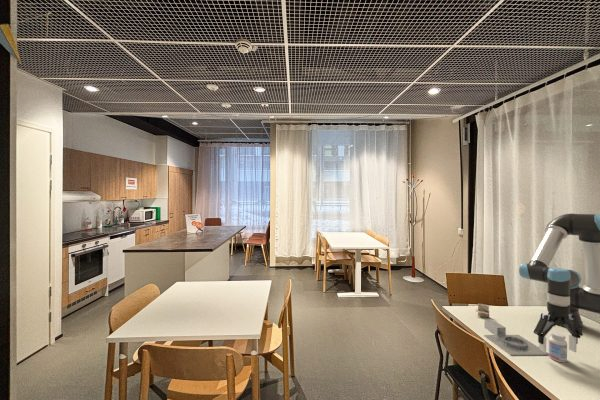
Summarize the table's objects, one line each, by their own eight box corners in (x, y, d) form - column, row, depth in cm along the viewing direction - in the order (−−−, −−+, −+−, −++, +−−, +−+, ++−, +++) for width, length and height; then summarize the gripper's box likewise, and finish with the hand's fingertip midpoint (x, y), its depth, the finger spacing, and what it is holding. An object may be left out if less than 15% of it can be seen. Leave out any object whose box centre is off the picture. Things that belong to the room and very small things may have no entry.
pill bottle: (544, 355, 129) (545, 331, 129) (557, 354, 130) (557, 330, 130) (558, 363, 123) (558, 337, 123) (570, 362, 124) (571, 337, 124)
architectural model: (489, 319, 168) (489, 307, 168) (475, 317, 172) (475, 304, 172) (489, 317, 171) (489, 305, 171) (475, 315, 175) (475, 303, 175)
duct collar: (504, 327, 158) (504, 319, 158) (549, 355, 130) (549, 345, 130) (472, 327, 157) (472, 319, 157) (510, 355, 129) (510, 345, 129)
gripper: (577, 300, 130) (576, 346, 130) (524, 300, 130) (523, 346, 130) (594, 306, 123) (593, 355, 123) (538, 306, 122) (537, 355, 123)
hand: (557, 350), depth 126 cm, fingers open, 13 cm apart
